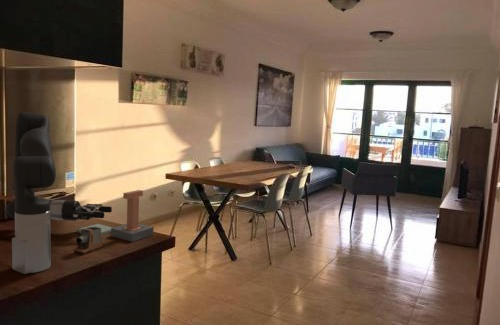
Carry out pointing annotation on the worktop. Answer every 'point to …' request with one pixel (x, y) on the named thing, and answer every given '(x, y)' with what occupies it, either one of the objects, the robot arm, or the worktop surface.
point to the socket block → (132, 232)
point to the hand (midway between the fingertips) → (107, 212)
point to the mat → (103, 228)
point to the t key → (132, 209)
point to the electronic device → (88, 240)
